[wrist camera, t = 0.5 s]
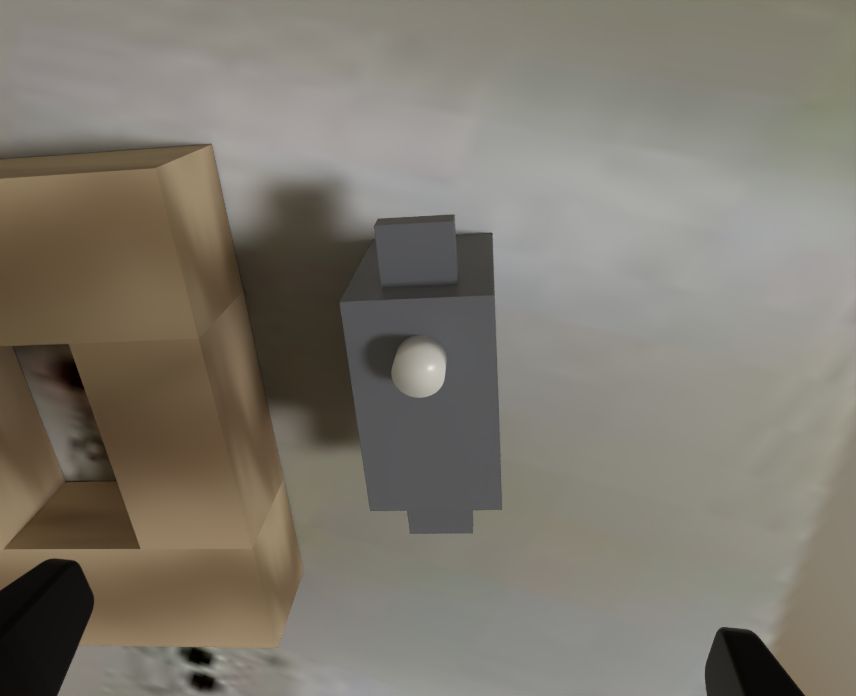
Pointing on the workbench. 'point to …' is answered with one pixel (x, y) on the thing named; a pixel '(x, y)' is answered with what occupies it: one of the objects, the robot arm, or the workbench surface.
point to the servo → (426, 372)
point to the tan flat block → (143, 401)
